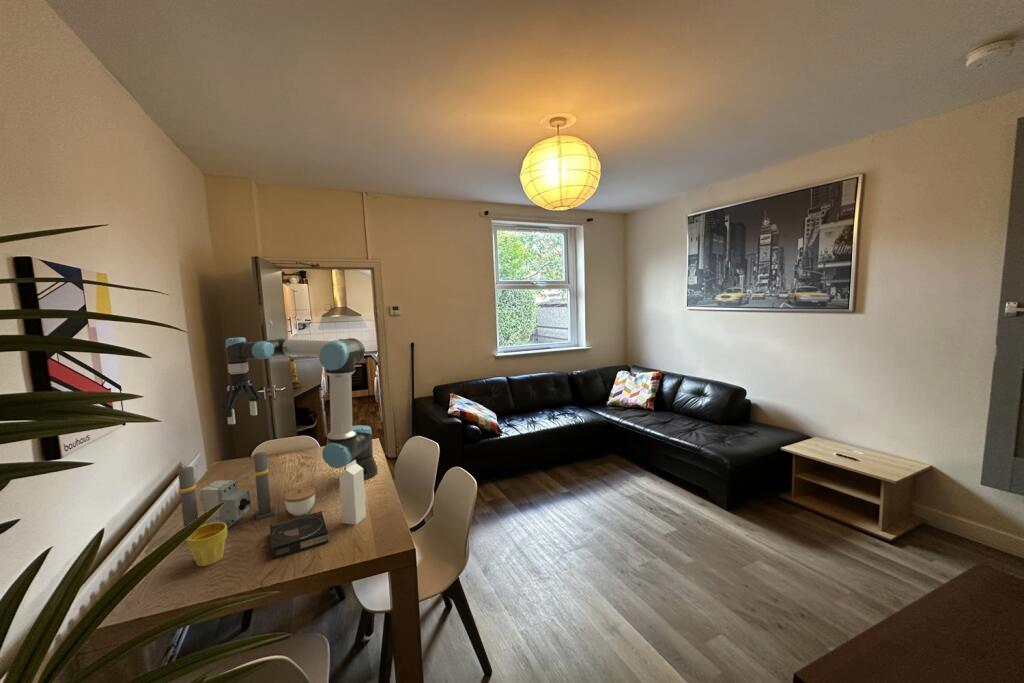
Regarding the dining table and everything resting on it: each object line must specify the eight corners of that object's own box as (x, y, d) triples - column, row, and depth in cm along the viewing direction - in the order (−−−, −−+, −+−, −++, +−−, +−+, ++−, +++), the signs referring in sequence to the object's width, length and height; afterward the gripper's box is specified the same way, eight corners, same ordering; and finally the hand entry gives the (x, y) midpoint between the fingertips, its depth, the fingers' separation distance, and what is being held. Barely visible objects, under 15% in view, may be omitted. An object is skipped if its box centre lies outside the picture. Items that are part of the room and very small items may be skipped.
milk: (342, 523, 147) (337, 465, 145) (352, 514, 153) (348, 458, 151) (356, 525, 146) (352, 466, 143) (366, 516, 152) (362, 459, 149)
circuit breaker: (242, 529, 144) (238, 489, 143) (203, 530, 144) (199, 489, 143) (255, 518, 152) (252, 480, 150) (218, 518, 152) (215, 480, 150)
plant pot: (183, 574, 120) (180, 543, 119) (194, 555, 130) (191, 526, 129) (225, 565, 124) (222, 535, 124) (233, 546, 134) (230, 518, 133)
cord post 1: (203, 527, 146) (196, 463, 143) (202, 535, 141) (196, 469, 139) (181, 533, 142) (175, 468, 140) (180, 541, 137) (173, 473, 135)
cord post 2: (273, 508, 159) (268, 449, 156) (274, 515, 154) (270, 454, 151) (255, 513, 155) (250, 453, 153) (256, 520, 150) (251, 458, 148)
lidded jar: (322, 507, 159) (321, 484, 158) (300, 521, 149) (298, 497, 148) (301, 503, 163) (300, 481, 162) (278, 516, 153) (276, 493, 152)
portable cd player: (271, 561, 126) (270, 549, 126) (270, 535, 141) (269, 524, 140) (328, 544, 135) (328, 532, 135) (322, 521, 150) (321, 511, 149)
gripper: (250, 368, 191) (254, 411, 193) (207, 377, 166) (212, 428, 168) (265, 367, 190) (269, 411, 192) (224, 377, 165) (230, 427, 167)
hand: (243, 419), depth 180 cm, fingers open, 13 cm apart
